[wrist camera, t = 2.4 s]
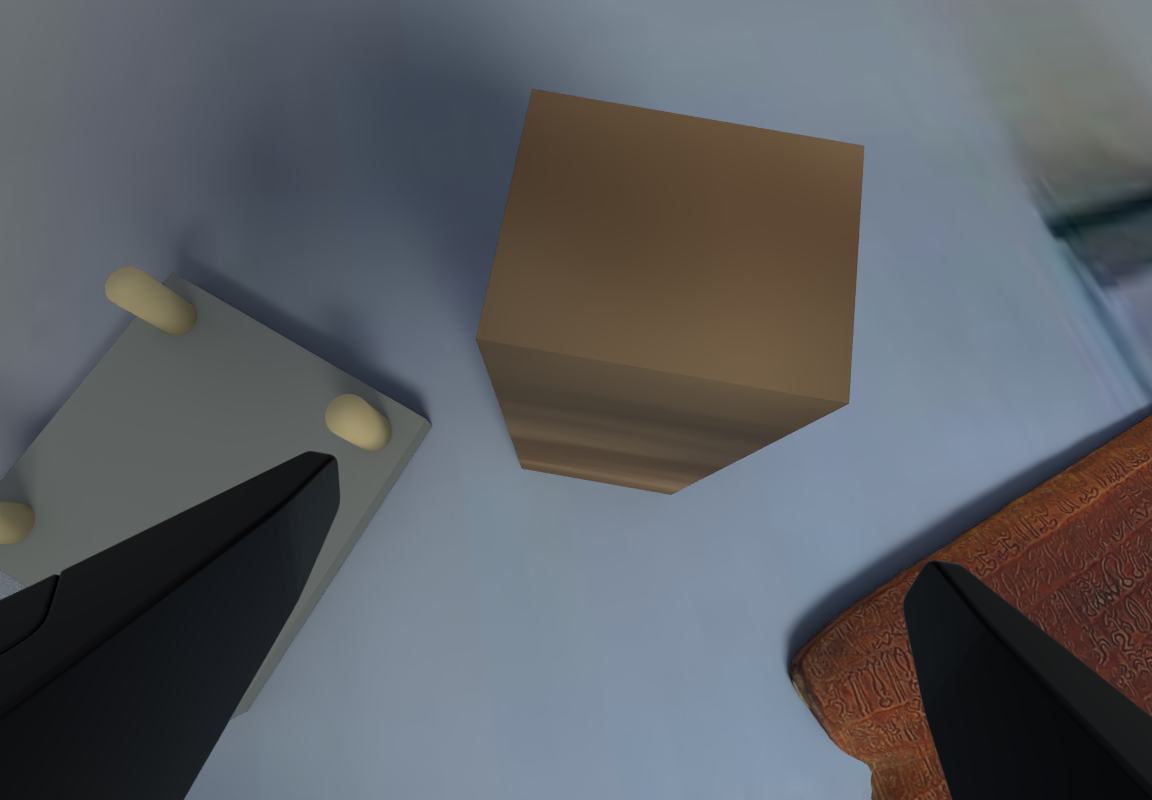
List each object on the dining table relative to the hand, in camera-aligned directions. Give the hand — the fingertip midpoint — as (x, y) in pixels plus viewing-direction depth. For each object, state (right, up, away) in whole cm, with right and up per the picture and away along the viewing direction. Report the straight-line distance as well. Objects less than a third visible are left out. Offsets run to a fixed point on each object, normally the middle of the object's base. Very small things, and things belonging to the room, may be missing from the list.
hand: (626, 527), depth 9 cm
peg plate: (-12, -1, +10) cm, 16 cm away
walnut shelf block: (0, +1, +11) cm, 11 cm away
